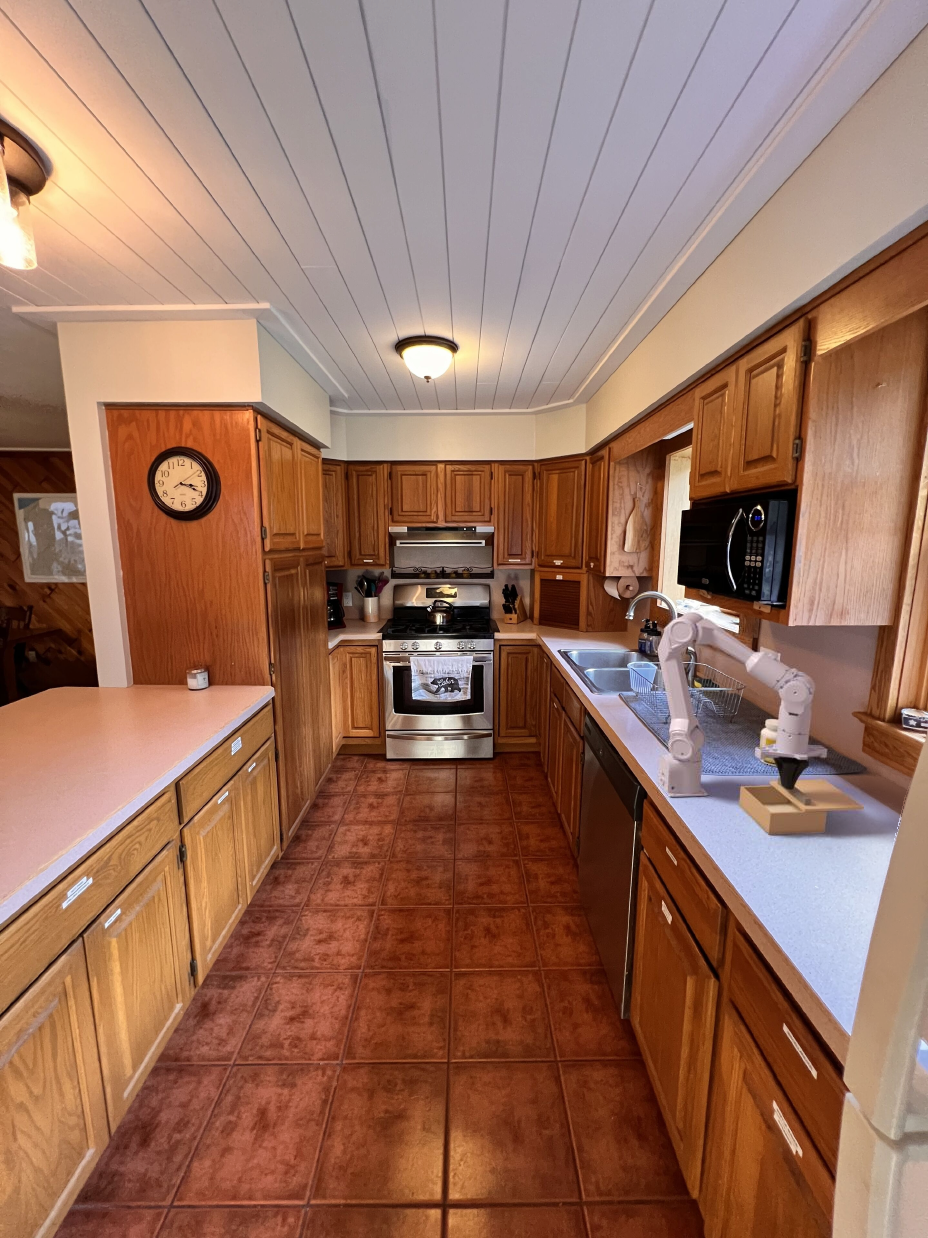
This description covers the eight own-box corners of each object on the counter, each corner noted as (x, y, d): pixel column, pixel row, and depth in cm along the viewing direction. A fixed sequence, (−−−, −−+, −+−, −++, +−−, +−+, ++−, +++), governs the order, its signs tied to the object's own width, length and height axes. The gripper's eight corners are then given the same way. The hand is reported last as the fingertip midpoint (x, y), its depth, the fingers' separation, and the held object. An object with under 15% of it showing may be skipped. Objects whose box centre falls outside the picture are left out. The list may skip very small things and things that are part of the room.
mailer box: (768, 835, 105) (770, 813, 104) (739, 806, 116) (740, 786, 115) (824, 832, 105) (826, 811, 104) (789, 804, 116) (791, 784, 115)
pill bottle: (790, 768, 132) (794, 727, 130) (763, 766, 134) (767, 726, 131) (780, 757, 139) (784, 718, 136) (755, 756, 140) (758, 717, 138)
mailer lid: (804, 811, 104) (805, 802, 103) (769, 783, 115) (770, 775, 115) (863, 809, 104) (864, 800, 103) (823, 781, 115) (824, 773, 115)
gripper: (771, 738, 102) (765, 798, 105) (840, 736, 103) (833, 796, 105) (751, 724, 109) (746, 781, 112) (816, 722, 109) (809, 779, 112)
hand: (787, 787), depth 109 cm, fingers closed
